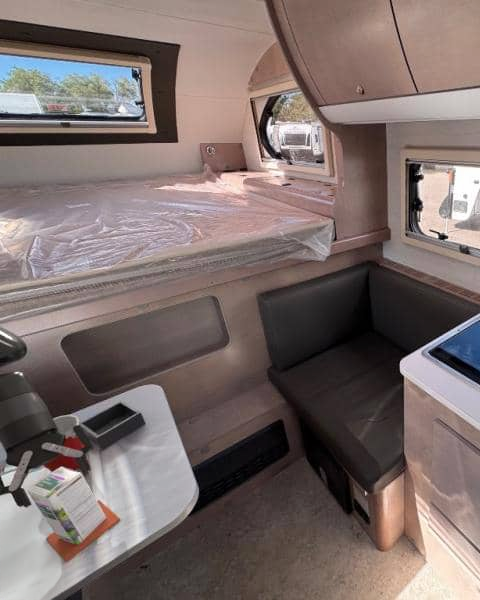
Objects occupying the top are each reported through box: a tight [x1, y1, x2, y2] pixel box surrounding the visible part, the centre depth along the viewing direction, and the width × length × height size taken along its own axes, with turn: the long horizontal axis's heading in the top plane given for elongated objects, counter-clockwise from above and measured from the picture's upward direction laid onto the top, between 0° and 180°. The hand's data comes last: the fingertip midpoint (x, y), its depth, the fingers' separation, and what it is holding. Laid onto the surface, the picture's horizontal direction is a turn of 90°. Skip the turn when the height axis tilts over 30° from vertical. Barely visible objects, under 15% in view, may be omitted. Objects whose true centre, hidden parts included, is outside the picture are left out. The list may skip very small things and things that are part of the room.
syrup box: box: [26, 467, 106, 545], centre depth 65 cm, size 6×6×14 cm
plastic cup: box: [42, 414, 87, 473], centre depth 79 cm, size 11×11×12 cm
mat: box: [45, 499, 121, 563], centre depth 68 cm, size 9×9×1 cm
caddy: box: [79, 400, 146, 451], centre depth 91 cm, size 10×10×4 cm
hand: (58, 489), depth 65 cm, fingers open, 8 cm apart
